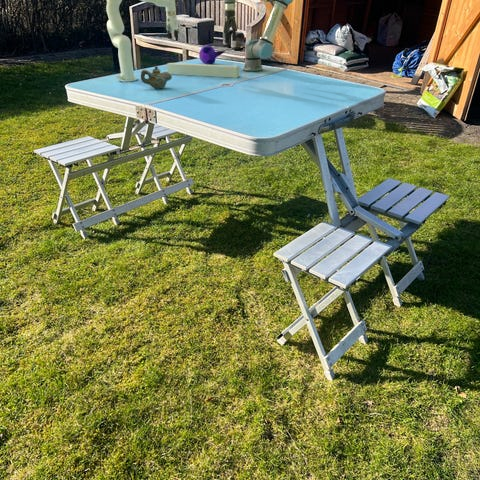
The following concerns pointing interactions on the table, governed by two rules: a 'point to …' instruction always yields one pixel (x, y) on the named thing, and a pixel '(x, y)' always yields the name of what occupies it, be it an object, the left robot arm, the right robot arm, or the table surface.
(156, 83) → the teapot
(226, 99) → the table surface
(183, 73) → the block
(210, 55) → the toy
